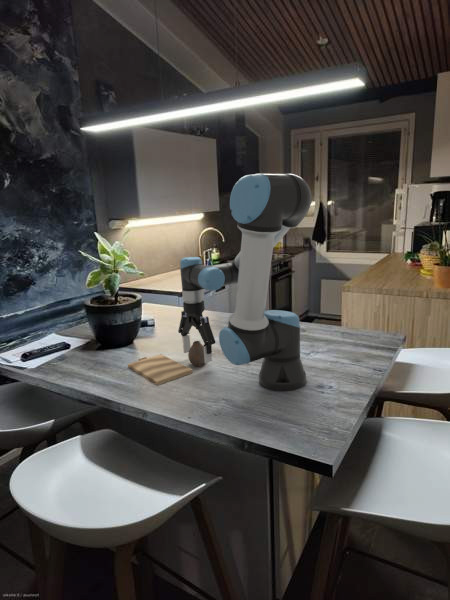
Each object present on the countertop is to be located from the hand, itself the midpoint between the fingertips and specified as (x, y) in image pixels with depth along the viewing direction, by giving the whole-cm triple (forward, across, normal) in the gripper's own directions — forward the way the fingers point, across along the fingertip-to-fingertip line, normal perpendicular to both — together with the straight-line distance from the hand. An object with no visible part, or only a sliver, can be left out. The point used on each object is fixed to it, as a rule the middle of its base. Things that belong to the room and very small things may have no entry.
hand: (197, 356), depth 150 cm
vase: (+3, 0, 0) cm, 3 cm away
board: (+3, +7, +13) cm, 15 cm away
